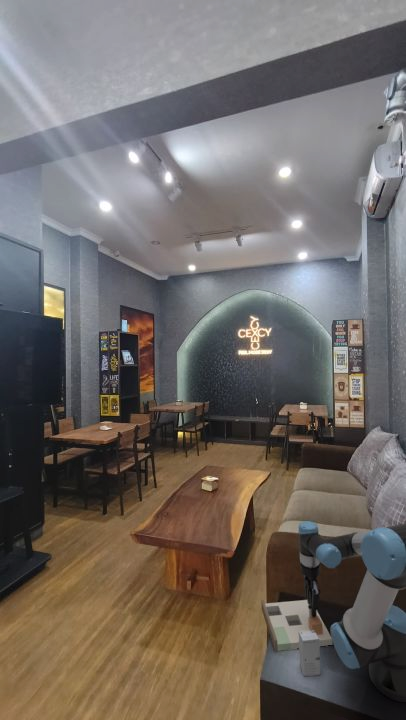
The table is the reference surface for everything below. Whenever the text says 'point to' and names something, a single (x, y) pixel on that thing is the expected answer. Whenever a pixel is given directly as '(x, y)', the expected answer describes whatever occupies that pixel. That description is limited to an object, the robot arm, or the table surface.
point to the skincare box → (309, 653)
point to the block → (315, 625)
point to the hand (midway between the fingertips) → (313, 622)
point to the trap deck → (290, 623)
